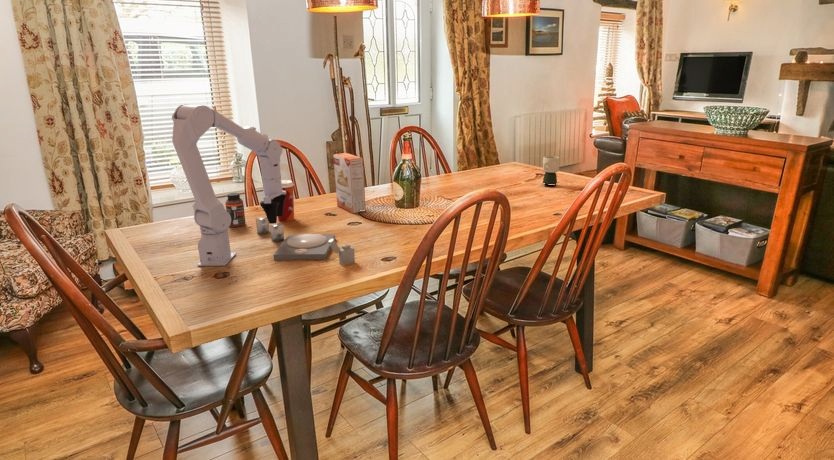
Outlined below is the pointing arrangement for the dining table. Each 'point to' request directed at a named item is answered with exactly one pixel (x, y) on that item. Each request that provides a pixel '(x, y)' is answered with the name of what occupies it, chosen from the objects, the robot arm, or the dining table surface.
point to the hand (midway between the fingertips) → (276, 219)
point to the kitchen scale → (304, 247)
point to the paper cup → (287, 202)
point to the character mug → (550, 169)
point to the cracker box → (349, 182)
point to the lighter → (343, 252)
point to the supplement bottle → (235, 209)
